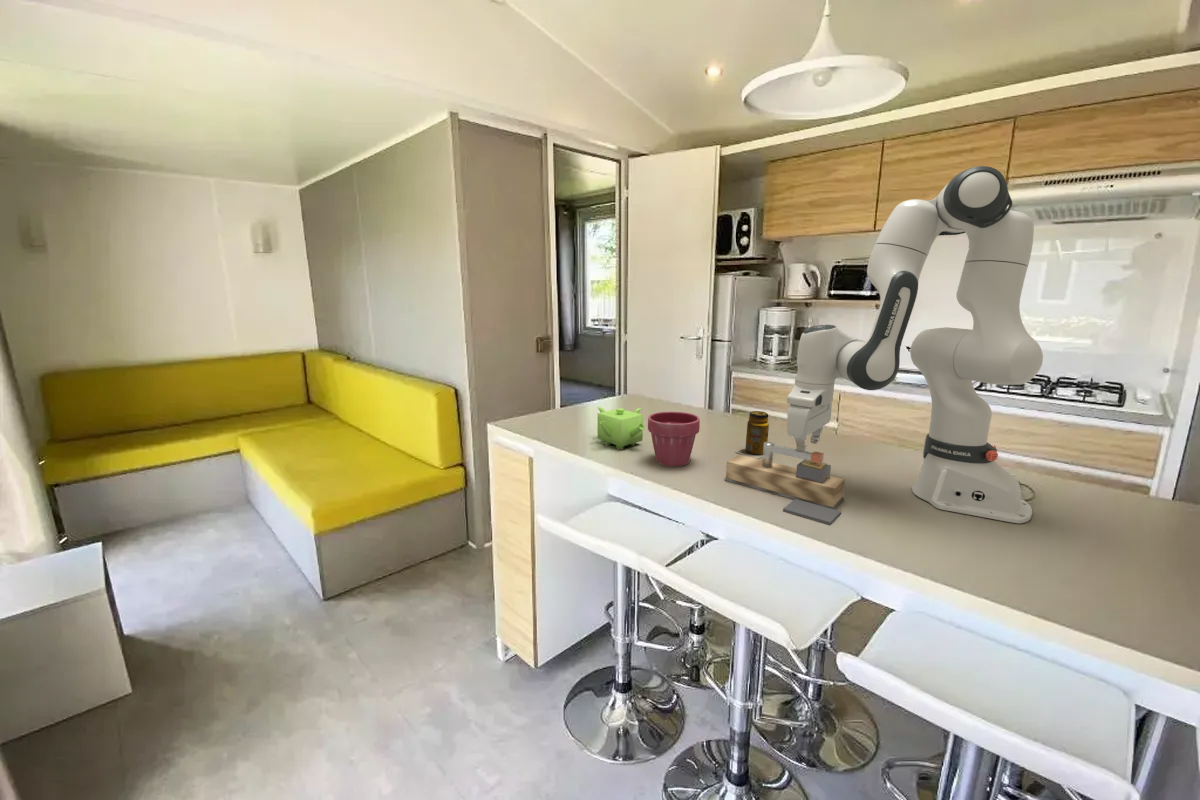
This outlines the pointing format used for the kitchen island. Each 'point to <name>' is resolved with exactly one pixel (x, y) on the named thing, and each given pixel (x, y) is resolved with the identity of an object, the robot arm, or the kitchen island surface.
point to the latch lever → (771, 448)
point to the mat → (812, 511)
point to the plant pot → (673, 436)
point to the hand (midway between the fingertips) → (808, 447)
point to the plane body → (784, 482)
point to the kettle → (620, 427)
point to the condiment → (756, 434)
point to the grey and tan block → (813, 471)
